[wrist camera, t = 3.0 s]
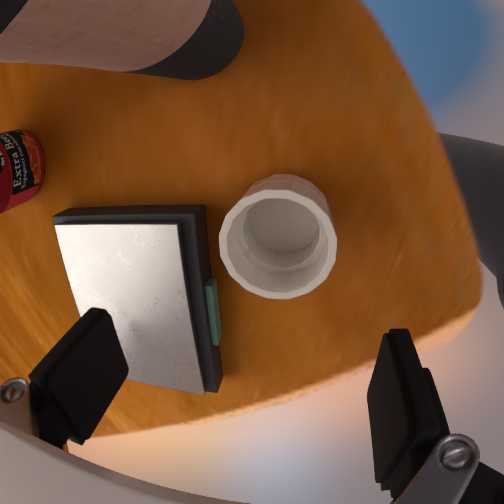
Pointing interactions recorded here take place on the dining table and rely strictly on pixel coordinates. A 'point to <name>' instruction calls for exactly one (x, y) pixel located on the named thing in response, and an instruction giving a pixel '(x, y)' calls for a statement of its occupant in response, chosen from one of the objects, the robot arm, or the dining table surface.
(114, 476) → the robot arm
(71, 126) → the dining table surface
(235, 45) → the travel mug
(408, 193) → the dining table surface
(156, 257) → the platform
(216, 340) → the scale
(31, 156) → the canned food
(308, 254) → the white cup
